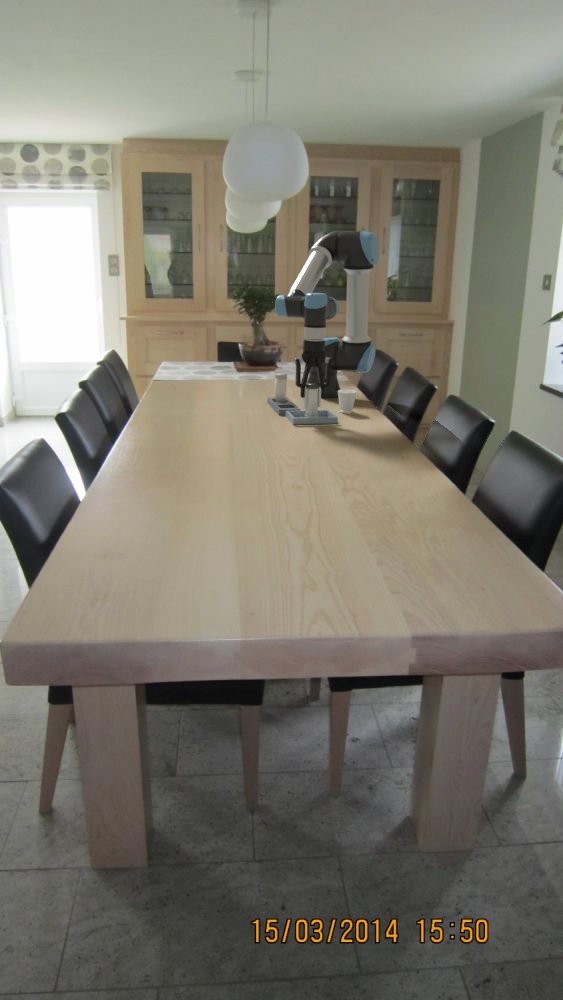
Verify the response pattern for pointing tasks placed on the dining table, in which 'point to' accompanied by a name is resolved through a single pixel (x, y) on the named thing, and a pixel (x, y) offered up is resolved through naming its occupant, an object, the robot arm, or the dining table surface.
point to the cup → (346, 400)
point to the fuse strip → (282, 406)
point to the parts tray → (311, 418)
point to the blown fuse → (312, 400)
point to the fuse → (280, 387)
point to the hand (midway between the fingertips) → (311, 406)
